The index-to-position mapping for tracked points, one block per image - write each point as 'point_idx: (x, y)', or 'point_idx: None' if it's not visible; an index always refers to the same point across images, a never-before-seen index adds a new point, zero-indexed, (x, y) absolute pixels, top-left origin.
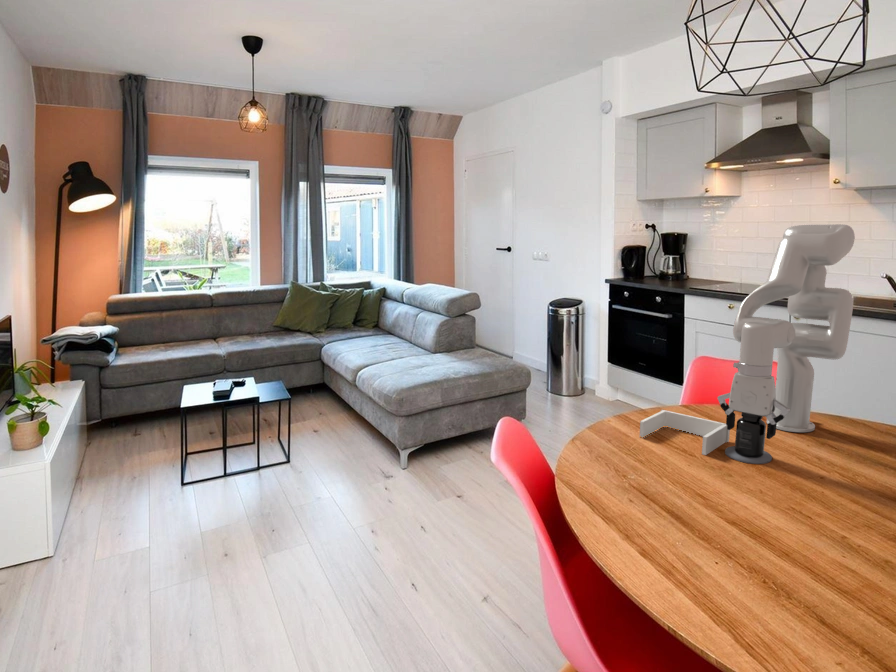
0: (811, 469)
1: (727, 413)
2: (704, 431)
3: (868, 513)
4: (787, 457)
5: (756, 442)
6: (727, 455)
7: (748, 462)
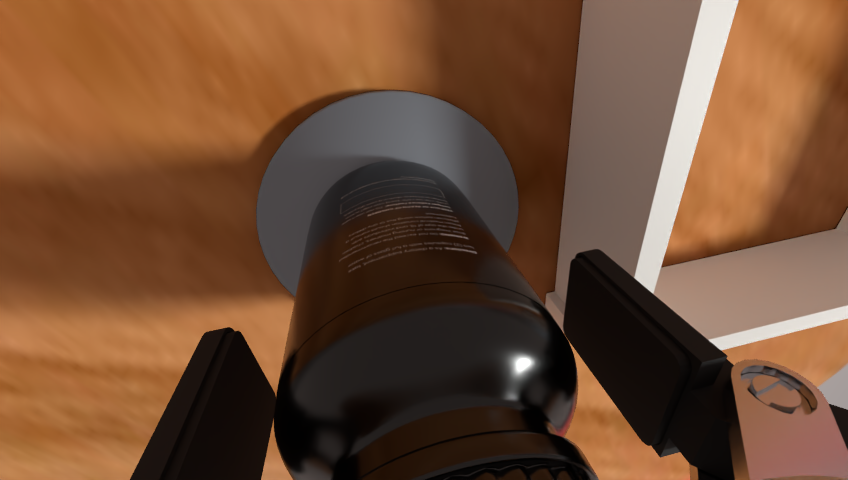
0: (75, 323)
1: (763, 382)
2: (677, 286)
3: None
4: (266, 354)
5: (310, 251)
6: (471, 117)
7: (318, 111)
